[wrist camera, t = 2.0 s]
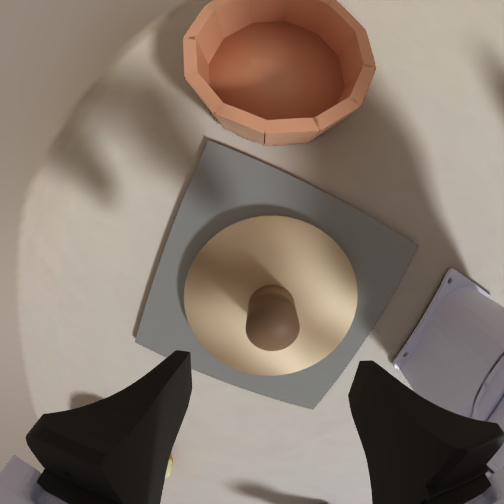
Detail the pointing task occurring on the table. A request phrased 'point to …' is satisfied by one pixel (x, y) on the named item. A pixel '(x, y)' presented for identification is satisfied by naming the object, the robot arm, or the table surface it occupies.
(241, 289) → the lid
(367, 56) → the bowl
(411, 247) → the mat
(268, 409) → the table surface
